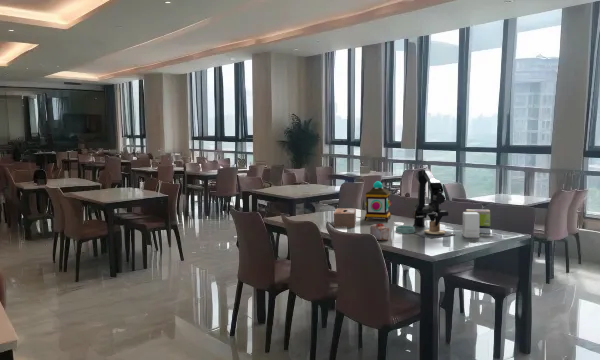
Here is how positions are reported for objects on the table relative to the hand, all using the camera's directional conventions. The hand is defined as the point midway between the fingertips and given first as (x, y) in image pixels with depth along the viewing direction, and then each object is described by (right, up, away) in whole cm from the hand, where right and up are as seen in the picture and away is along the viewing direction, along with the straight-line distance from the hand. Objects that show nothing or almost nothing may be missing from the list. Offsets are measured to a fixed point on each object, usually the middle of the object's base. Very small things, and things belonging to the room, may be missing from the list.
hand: (434, 225), depth 310 cm
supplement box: (+21, -7, -5) cm, 23 cm away
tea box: (+30, -6, +7) cm, 32 cm away
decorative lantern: (-27, -2, +61) cm, 66 cm away
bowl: (-16, -5, +12) cm, 21 cm away
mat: (0, -6, +1) cm, 6 cm away
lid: (0, -5, 0) cm, 5 cm away
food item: (-37, -8, -10) cm, 39 cm away
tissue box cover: (-53, -4, +45) cm, 70 cm away
